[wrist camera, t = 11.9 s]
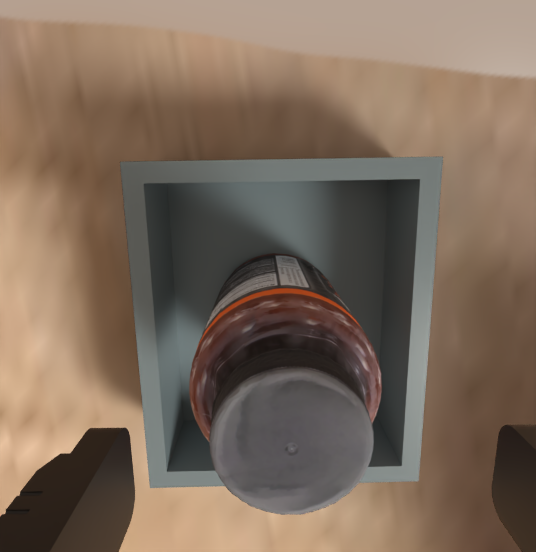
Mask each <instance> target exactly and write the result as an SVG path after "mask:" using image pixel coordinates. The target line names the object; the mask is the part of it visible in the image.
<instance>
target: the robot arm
mask: <svg viewBox="0 0 536 552" xmlns="http://www.w3.org/2000/svg"><path fill="white" fill-rule="evenodd" d="M492 497H493V502H494V506H495V509H496V512H497V514H498V516H499V518H500V520H501V522H502V523H503V525H504V526H505V528H506V529H507V530H508V532H509V533H510V535H511V536H512V538H513V539H514V541H515V542H516V544H517V545H518V546H519V548H520V549H521V551H522V552H536V425H505V426H503V427H502V428H501V430H500V432H499V436H498V444H497V451H496V459H495V467H494V474H493V482H492ZM134 501H135V485H134V475H133V464H132V454H131V443H130V435H129V432H128V430H127V429H126V428H90V429H89V430H87V432H86V433H85V434H84V436H83V437H82V438H81V440H80V441H79V442H78V444H77V445H76V447H75V448H74V449H73V451H72V452H71V453H70V454H59V455H58V456H57V457H55V458H54V459H53V460H51V461H50V462H48V463H47V464H46V465H44V466H43V467H42V468H40V469H39V470H37V471H36V473H35V474H34V475H33V476H32V478H31V479H30V480H29V481H28V483H27V484H26V485H25V486H24V488H23V489H22V490H21V492H20V496H17V497H16V498H15V499H14V500H13V502H12V503H11V504H10V505H9V507H8V508H7V509H6V513H5V514H2V515H1V517H0V552H119V549H120V547H121V544H122V542H123V539H124V537H125V534H126V532H127V529H128V527H129V524H130V521H131V518H132V514H133V509H134Z"/></svg>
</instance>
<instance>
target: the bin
mask: <svg viewBox="0 0 536 552" xmlns="http://www.w3.org/2000/svg"><path fill="white" fill-rule="evenodd" d="M442 165H443V157H390V158H326V159H262V160H198V161H134V162H120V167H121V178H122V189H123V200H124V211H125V222H126V233H127V243H128V254H129V265H130V276H131V287H132V298H133V309H134V319H135V330H136V341H137V352H138V363H139V374H140V384H141V395H142V406H143V417H144V428H145V439H146V450H147V460H148V471H149V482H150V488H166V487H207V486H225V485H224V484H223V482H222V481H221V479H220V478H219V476H218V474H217V472H216V471H215V469H214V466H213V464H212V458H211V454H210V448H209V441H208V440H207V439H206V437H205V436H204V435H203V433H202V431H201V429H200V427H199V425H198V424H197V421H196V419H195V416H194V413H193V410H192V406H191V401H190V394H189V381H190V373H191V367H192V362H193V359H194V356H195V353H196V350H197V347H198V344H199V341H200V339H201V337H202V333H203V331H204V329H205V326H206V324H207V322H208V319H209V317H210V314H211V312H212V309H213V307H214V304H215V302H216V299H217V297H218V294H219V292H220V290H221V288H222V286H223V284H224V283H225V281H226V280H227V279H228V277H229V276H230V275H231V274H232V273H233V272H234V271H235V270H236V269H237V268H238V267H239V266H240V265H242V264H243V263H245V262H247V261H248V260H250V259H253V258H255V257H258V256H261V255H265V254H273V253H276V254H288V255H292V256H296V257H299V258H301V259H304V260H306V261H308V262H309V263H310V264H312V265H313V266H314V267H316V268H317V269H318V270H319V271H320V272H322V273H323V274H324V276H325V277H326V278H327V279H328V280H329V282H330V283H331V285H332V286H333V287H334V289H335V291H336V292H337V294H338V295H339V297H340V298H341V300H342V301H343V302H344V304H345V305H346V306H347V308H348V309H349V310H350V312H351V313H352V315H353V316H354V317H355V318H356V320H357V321H358V323H359V325H360V327H361V328H362V330H363V331H364V333H365V334H366V335H367V337H368V339H369V341H370V342H371V343H372V346H373V349H374V351H375V353H376V356H377V359H378V363H379V367H380V370H381V384H382V389H381V398H380V403H379V407H378V411H377V413H376V416H375V418H374V421H373V423H372V427H373V431H374V433H373V436H374V445H373V452H372V456H371V461H370V463H369V465H368V467H367V470H366V472H365V474H364V476H363V477H362V479H361V480H360V482H359V483H368V482H409V481H419V470H420V456H421V443H422V430H423V417H424V403H425V390H426V377H427V364H428V350H429V337H430V324H431V310H432V297H433V284H434V271H435V257H436V244H437V231H438V218H439V204H440V191H441V178H442Z"/></svg>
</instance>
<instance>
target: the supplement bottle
mask: <svg viewBox="0 0 536 552" xmlns="http://www.w3.org/2000/svg"><path fill="white" fill-rule="evenodd" d="M381 389H382V384H381V370H380V367H379V363H378V359H377V356H376V353H375V351H374V349H373V346H372V343H371V342H370V341H369V339H368V337H367V335H366V334H365V333H364V331H363V330H362V328H361V327H360V325H359V323H358V321H357V320H356V318H355V317H354V316H353V315H352V313H351V312H350V310H349V309H348V308H347V306H346V305H345V304H344V302H343V301H342V300H341V298H340V297H339V295H338V294H337V292H336V291H335V289H334V287H333V286H332V285H331V283H330V282H329V280H328V279H327V278H326V277H325V276H324V274H323V273H322V272H320V271H319V270H318V269H317V268H316V267H314V266H313V265H312V264H310V263H309V262H308V261H306V260H304V259H301V258H299V257H296V256H292V255H288V254H276V253H273V254H265V255H261V256H258V257H255V258H253V259H250V260H248V261H247V262H245V263H243V264H242V265H240V266H239V267H238V268H237V269H236V270H235V271H234V272H233V273H232V274H231V275H230V276H229V277H228V279H227V280H226V281H225V283H224V284H223V286H222V288H221V290H220V292H219V294H218V297H217V299H216V302H215V304H214V307H213V309H212V312H211V314H210V317H209V319H208V322H207V324H206V326H205V329H204V331H203V333H202V337H201V339H200V341H199V344H198V347H197V350H196V353H195V356H194V359H193V362H192V367H191V373H190V381H189V394H190V401H191V406H192V410H193V413H194V416H195V419H196V421H197V424H198V425H199V427H200V429H201V431H202V433H203V435H204V436H205V437H206V439H207V440H208V441H209V448H210V454H211V458H212V464H213V466H214V469H215V471H216V472H217V474H218V476H219V478H220V479H221V481H222V482H223V484H224V485H225V486H226V488H227V489H228V490H229V491H230V492H231V493H232V494H233V495H235V496H237V497H238V498H239V499H240V500H241V501H243V502H245V503H247V504H248V505H250V506H252V507H255V508H257V509H261V510H263V511H266V512H271V513H276V514H282V515H285V514H305V513H308V512H313V511H316V510H319V509H322V508H325V507H327V506H329V505H331V504H334V503H336V502H337V501H339V500H340V499H341V498H343V497H344V496H346V495H347V494H348V493H350V491H351V490H352V489H353V488H354V487H355V486H356V485H357V484H358V483H359V482H360V480H361V479H362V477H363V476H364V474H365V472H366V470H367V467H368V465H369V463H370V461H371V456H372V452H373V445H374V436H373V433H374V431H373V427H372V423H373V421H374V418H375V416H376V413H377V411H378V407H379V403H380V398H381Z"/></svg>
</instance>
